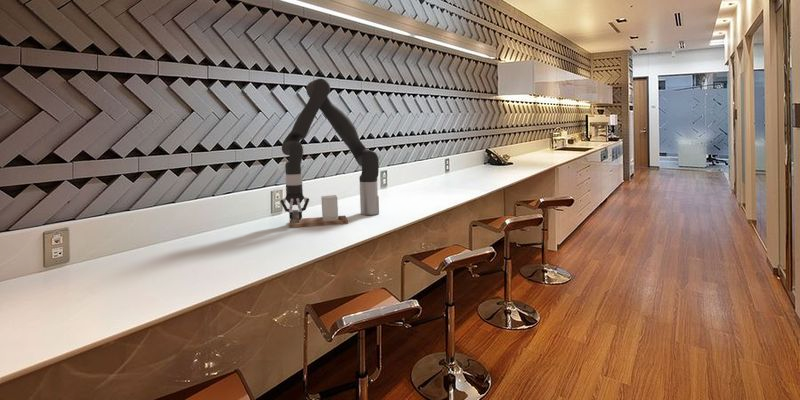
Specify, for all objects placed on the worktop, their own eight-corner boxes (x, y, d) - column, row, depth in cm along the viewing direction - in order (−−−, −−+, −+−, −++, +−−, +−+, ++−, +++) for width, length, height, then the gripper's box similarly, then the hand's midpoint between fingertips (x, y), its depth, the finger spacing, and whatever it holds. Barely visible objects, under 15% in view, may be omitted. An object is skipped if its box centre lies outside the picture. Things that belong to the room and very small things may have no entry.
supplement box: (338, 223, 211) (337, 197, 209) (323, 224, 209) (321, 198, 207) (337, 219, 218) (336, 194, 216) (322, 220, 217) (321, 195, 214)
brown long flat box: (345, 218, 220) (344, 205, 219) (348, 223, 209) (347, 210, 208) (289, 222, 214) (288, 209, 213) (289, 227, 203) (288, 214, 201)
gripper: (308, 182, 211) (310, 217, 214) (278, 183, 208) (280, 219, 210) (309, 183, 204) (311, 220, 207) (278, 185, 200) (280, 222, 203)
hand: (295, 219), depth 209 cm, fingers closed on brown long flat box, 3 cm apart
